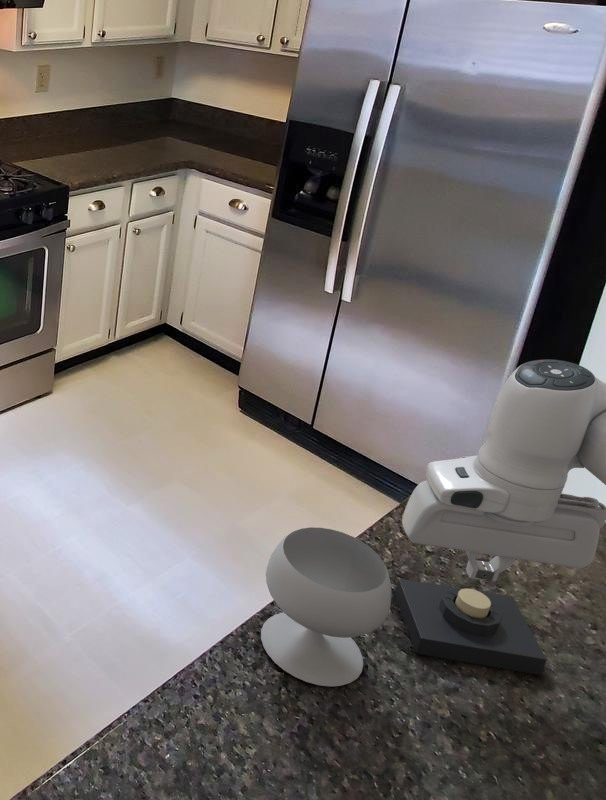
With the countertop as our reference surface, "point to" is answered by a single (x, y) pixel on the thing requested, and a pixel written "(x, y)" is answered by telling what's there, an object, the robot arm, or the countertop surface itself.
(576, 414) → the robot arm
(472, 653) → the push button plate
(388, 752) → the countertop surface
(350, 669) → the chalice
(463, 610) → the push button switch
